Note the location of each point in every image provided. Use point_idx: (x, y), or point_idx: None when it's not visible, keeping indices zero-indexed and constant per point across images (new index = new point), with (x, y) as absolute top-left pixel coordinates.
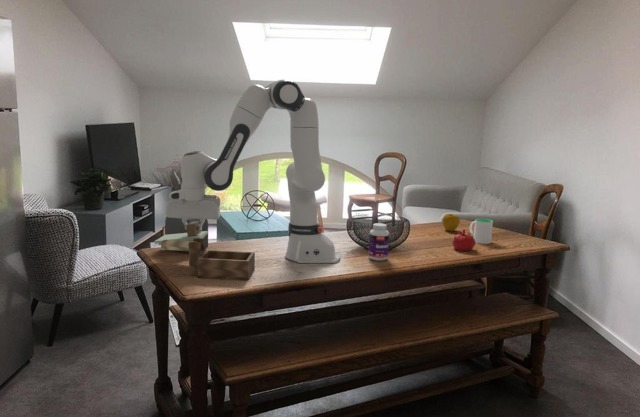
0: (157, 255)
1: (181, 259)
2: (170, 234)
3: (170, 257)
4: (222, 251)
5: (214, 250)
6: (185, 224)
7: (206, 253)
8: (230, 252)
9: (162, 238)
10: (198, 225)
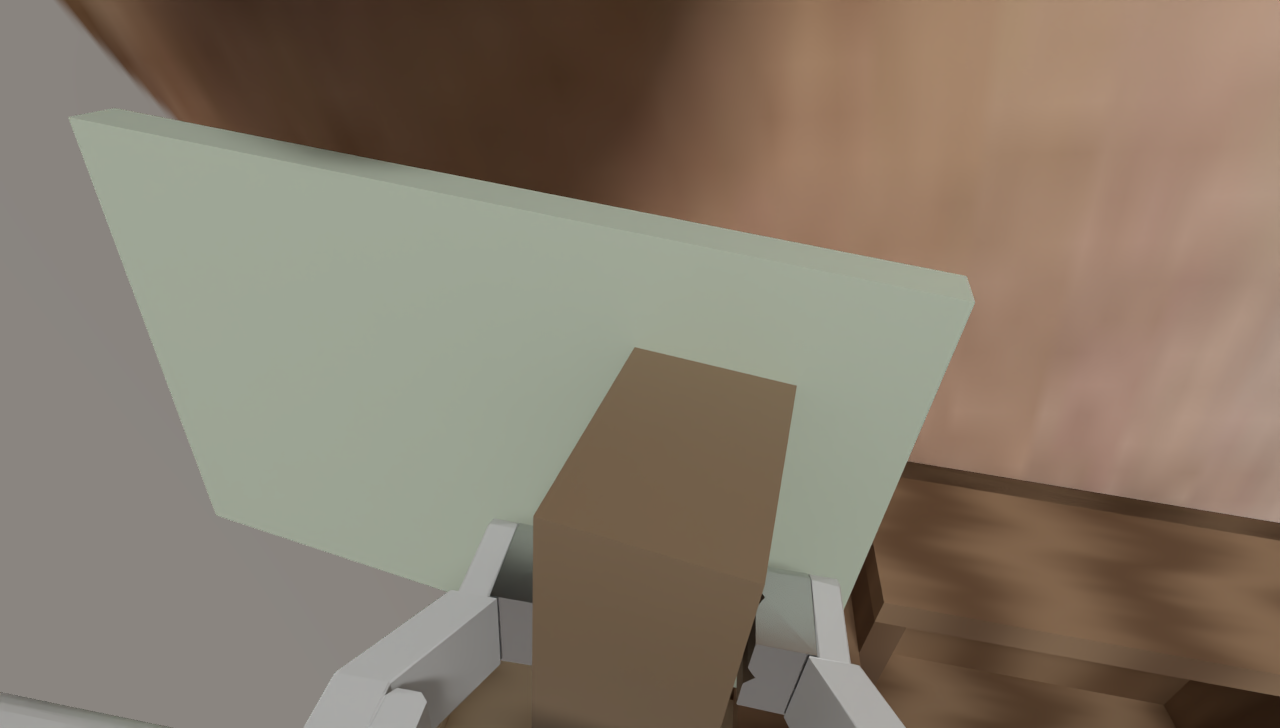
0: (202, 7)
1: (546, 178)
2: (170, 158)
3: (393, 95)
4: (1072, 656)
5: (977, 626)
6: (473, 675)
7: (875, 678)
8: (1168, 667)
9: (232, 430)
10: (766, 679)
